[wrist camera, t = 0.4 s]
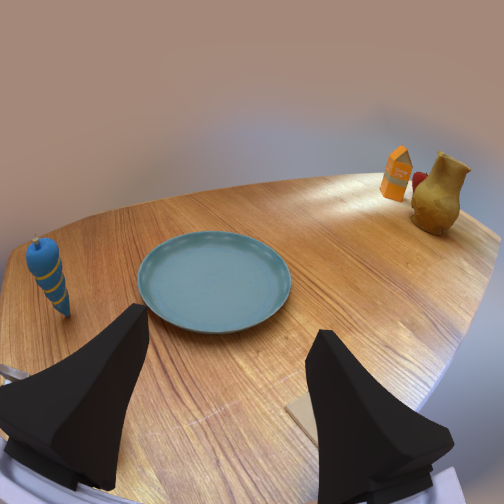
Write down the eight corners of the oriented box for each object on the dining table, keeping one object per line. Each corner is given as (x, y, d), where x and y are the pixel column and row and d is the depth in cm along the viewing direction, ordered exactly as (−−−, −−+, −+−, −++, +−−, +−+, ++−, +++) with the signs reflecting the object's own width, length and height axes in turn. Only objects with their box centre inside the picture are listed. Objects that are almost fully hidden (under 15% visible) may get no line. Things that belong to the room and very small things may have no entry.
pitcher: (398, 206, 84) (422, 141, 69) (438, 221, 83) (464, 161, 68) (412, 232, 71) (445, 155, 55) (456, 247, 69) (488, 180, 54)
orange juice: (396, 194, 97) (410, 147, 85) (401, 202, 89) (417, 152, 78) (379, 188, 98) (392, 141, 86) (383, 196, 91) (397, 146, 79)
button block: (324, 456, 23) (332, 451, 22) (284, 408, 28) (288, 399, 27) (379, 408, 28) (389, 400, 27) (341, 369, 33) (348, 359, 32)
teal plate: (276, 246, 56) (278, 232, 54) (300, 346, 36) (306, 331, 34) (156, 241, 53) (155, 227, 51) (125, 339, 33) (119, 324, 31)
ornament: (85, 305, 37) (58, 222, 28) (78, 330, 33) (42, 245, 24) (59, 304, 36) (29, 224, 27) (50, 328, 32) (12, 246, 23)
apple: (433, 206, 93) (442, 180, 86) (412, 200, 94) (421, 172, 88) (424, 196, 102) (432, 172, 95) (404, 190, 103) (412, 164, 97)
